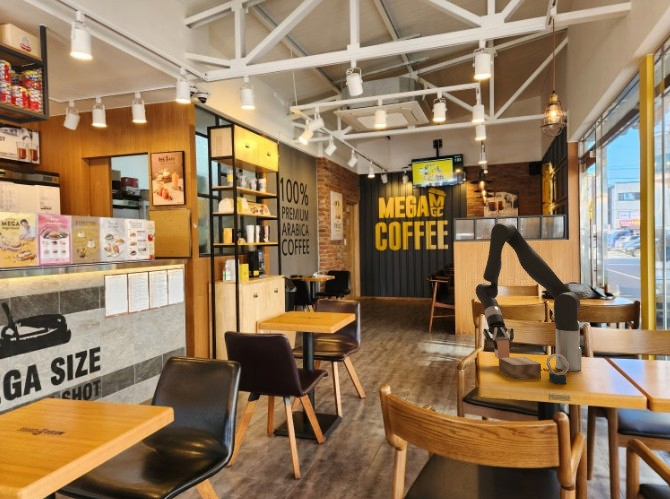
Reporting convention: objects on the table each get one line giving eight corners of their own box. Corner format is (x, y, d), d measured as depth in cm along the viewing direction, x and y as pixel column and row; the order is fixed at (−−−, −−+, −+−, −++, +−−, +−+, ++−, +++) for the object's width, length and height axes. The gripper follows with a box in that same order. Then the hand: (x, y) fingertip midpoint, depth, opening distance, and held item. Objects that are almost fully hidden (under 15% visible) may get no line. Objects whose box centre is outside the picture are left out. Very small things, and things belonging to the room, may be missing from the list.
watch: (571, 384, 177) (571, 356, 177) (550, 384, 177) (549, 355, 177) (565, 380, 182) (565, 352, 182) (544, 379, 183) (544, 352, 183)
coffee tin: (505, 355, 208) (505, 336, 208) (509, 358, 203) (509, 338, 203) (494, 356, 208) (493, 336, 208) (498, 358, 203) (497, 338, 203)
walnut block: (525, 370, 198) (524, 356, 198) (541, 378, 186) (540, 363, 186) (499, 371, 196) (498, 357, 196) (513, 379, 184) (513, 365, 184)
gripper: (480, 313, 213) (488, 344, 201) (511, 313, 212) (521, 344, 200) (477, 323, 218) (485, 353, 206) (508, 322, 218) (517, 353, 206)
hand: (503, 348), depth 203 cm, fingers closed on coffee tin, 5 cm apart
